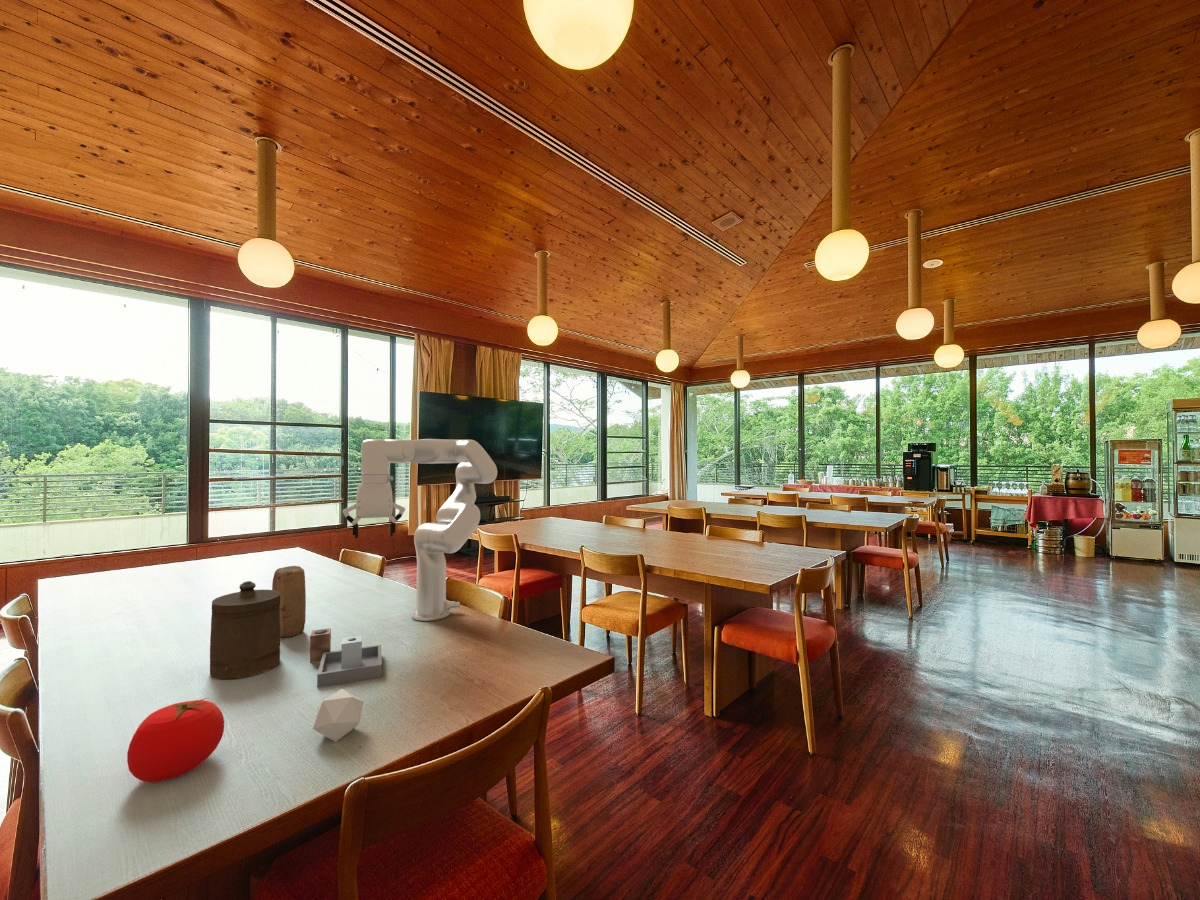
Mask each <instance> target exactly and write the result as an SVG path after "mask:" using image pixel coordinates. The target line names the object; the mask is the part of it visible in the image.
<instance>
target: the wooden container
mask: <svg viewBox="0 0 1200 900" xmlns="http://www.w3.org/2000/svg"><path fill="white" fill-rule="evenodd" d="M256 587H257V585H256V583H255V582H252V581H250V580H248V581H243V582H242V583H240V584H239V590H240V591H238V592H231V593H228V594H224V595H221V596H218V597H216V598H214V599H213V600H212V601H211V617H210V618H211V619H210V621H211V622H210V637H209V639H210V640H209V641H210V643H209V675H210V677H212V678H214V679H219V680H235V679H236V680H237V679H242V678H247V677H250V676H254V675H259V674H261V673H262V674H263V673H264V672H267V671H269V670H270V669H273V668H274V667H276V666H277V665H278V664H279V663H280V661H281V637H280V592H279V591H276V590H272V589H255V588H256Z"/></svg>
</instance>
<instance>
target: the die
mask: <svg viewBox="0 0 1200 900" xmlns="http://www.w3.org/2000/svg"><path fill="white" fill-rule="evenodd" d="M363 706H364V701H363V700H361V699H360V698H359V697H357V696H355V695H353V694H352V693H350V692H348V691H347V690H345V689H343V688H341V689H339V690H338V691H336V692H335V693H333V694H332V695H330V696H328V697H327V698H325V699H324V700H322V701H321V703H320V705H319V707H318V710H317V712H316V716H315V718H314V719H315V720H314V723H313V726H312V730H313V731H316V732H318V733H319V734H320V735H323V736H324V737H326V739H329V740H331V741H333V742H335V743H337V742H338V741H339V740H340V739H342V738H344V737H345V736H346V735H347V734H348V733H350V732H352V730H354V729H355V728H356V727H357V726H358V725H359V724H360V722H361V717H362V711H363Z"/></svg>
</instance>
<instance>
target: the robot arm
mask: <svg viewBox="0 0 1200 900" xmlns="http://www.w3.org/2000/svg"><path fill="white" fill-rule="evenodd" d="M360 452H361V465H360V466H361V470H360V473H361V474H360V484H358V486H357V490H356V491H357V492H356V498H355V499H356V502H355V503H354V504H351V505H350V506H347V507H345V508H344V509H343V510H342V514H343V515H344V517H345V519H346V520H347V521H348V522H349V523H350V524H351V525H352V536H354V538H355V539H358V538H359V523H358V522H359V521H360V520H361V519H374V518H375V519H377V518H388V519H389V520H390V523H389V535H390V537H394V534H396V523H397V522H398V521H399V520H400V519H401V518H402V517H403V515H404V513H405V511H406V508H405V507H404V506H402V505H399V504H397V503H395V502H393V501H394V499H393V489H392V485H391V484H390V483H389V482H391V481H394V475H392V476H391V475H390V474H389V464H405V463H412V464H413V463H415V464H423V465H425V464H427V465H428V464H431V465H433V464H458V465H457V466H456V468H455V481H456V482H455V489H454V491H453V493H452V494H451V495H449V497H448V498H447V499H446V501H445V502H444V503H443V504H442V506H441V507H440V508H439V509H438V511H437V513H436V516H435V520H436V522H425V523H422V524H420V525H419V526H417V528H416V530H415V532H414V535H413V543H414V547H415V553H416V609H415V610H413V611H412V612H411V619H412V620H416V621H423V622H424V621H425V622H427V621H428V622H429V621H430V622H431V621H438V620H442V619H444V618H447V617H448V616H450V614H451V609H459V608H460V607H461V603H460V601H455V600H454V601H453V600H452V601H448V600H447V598H446V597H447V594H446V593H447V574H446V573H447V560H446V556H445V554H454V553H456V552H458V551H459V550H460V549H461V548H462V547H463V546H464V544H466V542H467V540H468V539H469V538H470V537H471V536H472V534H473V533H474V531H475V530H476V529H477V527H478V526H479V524H480V520H481V510H480V509H479V507H478V506H477V505H476V504H475V502H476V499H477V492H476V487H475V484H482V485H484V484H485V485H488V484H491V483H493V482H495V480H496V479H497V476H498V468H497V465H496V464H495V462H494V461H493V458H491V456H490V455H489V454H488V452H487V451H486V450H485V449H484V448H483V446H482V445H481V444H480V443H479V442H478V441H476V440H474V439H449V438H448V439H445V438H444V439H441V438H423V439H421V438H420V439H396V438H395V439H392V438H391V439H373V438H372V439H365V440H363V441H362V443H361V451H360ZM394 509H396V510H398V512H397V514H396V515H395V516H394V515H393V511H394ZM353 510H355V515H356V516H355V517H352V516H351V514H350V512H351V511H353Z"/></svg>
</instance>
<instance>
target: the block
mask: <svg viewBox="0 0 1200 900" xmlns="http://www.w3.org/2000/svg"><path fill="white" fill-rule="evenodd" d="M305 574H306V573H305V569H304V568H302V567H301V566H299V565H289V566H283V567H279V568H277V569H276V570H275V571H274V574H273V578H272V583H271V584H272V585H271V588H272V589H271V590H276V591H279V592H280V638H288V637H294V636H297V635H300V634H301V633H304V631H305V624H306V620H307V619H306V618H307V617H306V616H307V615H306V613H307V612H306V609H307V608H306V607H307V605H306V604H307V603H306V602H307V601H306V599H307V595H306V594H307V593H306V575H305Z"/></svg>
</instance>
